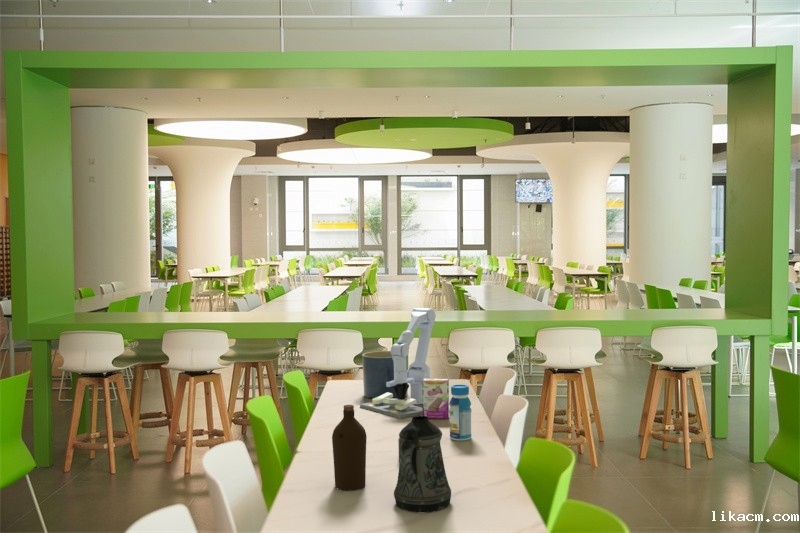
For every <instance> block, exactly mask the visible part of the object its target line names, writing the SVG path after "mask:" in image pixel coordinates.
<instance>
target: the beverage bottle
mask: <svg viewBox="0 0 800 533" xmlns="http://www.w3.org/2000/svg"><path fill="white" fill-rule="evenodd" d="M450 394H451V398H450V399H449V438H450V439H451V440H453V441H457V442H458V441H459V442H460V441H469V440H471V439H472V408H471V406H472V402H471V400H470V397H468V396H469V394H470V387H469V385H468V384H453V385H451V386H450Z"/></svg>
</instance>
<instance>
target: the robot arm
mask: <svg viewBox="0 0 800 533" xmlns="http://www.w3.org/2000/svg"><path fill="white" fill-rule="evenodd" d="M410 315H411V319H410V321H409V323H408V326H407V328H406V330H404V331H402V332H401V335H399V337H398V339H397V342H396V343H394V344H392V345H391V347H390V350H389V351H390V352H391V355H392V359H393V360H394V380H393V381H390V382H386V387H391V386H393V388H394V390H395V392H396V394H397V398H398V399H400V400H402V399H403V400H406V397H405V395H406V392H407V390H408V389H409V387H410V398H412V399H416V401H417V403H416V404H415V406H417V405H418V406H419V405H423V383H422V382H423V379H431V374H430V373H431V372H430V371H431V368H430V366H429V365H428V364H427V357H428V352H429V349H430V348H429V346H430V341H431V337H432V336H431V335H432V330H433V328H434V326H435V322H436V316H437V315H436V312H435V310H434V308H431V307H429V308H427V307H413V309H412V311H411V313H410ZM418 328H420V331H419V337H418V341H417V348H416V352H415V356H414V357H415V358H414V361H413V362H412V363H410V364H408V371H407V368H406V356H407V355H408V356H409V354H410V353H409V352H410V346H411V343H412V342H413V340H414V333H415V332H416V331H417V330H418ZM407 383H408V384H407ZM408 391H409V390H408Z"/></svg>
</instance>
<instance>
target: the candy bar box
mask: <svg viewBox="0 0 800 533" xmlns="http://www.w3.org/2000/svg"><path fill="white" fill-rule="evenodd" d="M422 383H423V404H422V408H423V414H422V416H426V417H427V418H428V420H434V419H435V420H449V419H450V413H449V409H450V405H449V403H450V379H449V378H430V379H423V382H422Z"/></svg>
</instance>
